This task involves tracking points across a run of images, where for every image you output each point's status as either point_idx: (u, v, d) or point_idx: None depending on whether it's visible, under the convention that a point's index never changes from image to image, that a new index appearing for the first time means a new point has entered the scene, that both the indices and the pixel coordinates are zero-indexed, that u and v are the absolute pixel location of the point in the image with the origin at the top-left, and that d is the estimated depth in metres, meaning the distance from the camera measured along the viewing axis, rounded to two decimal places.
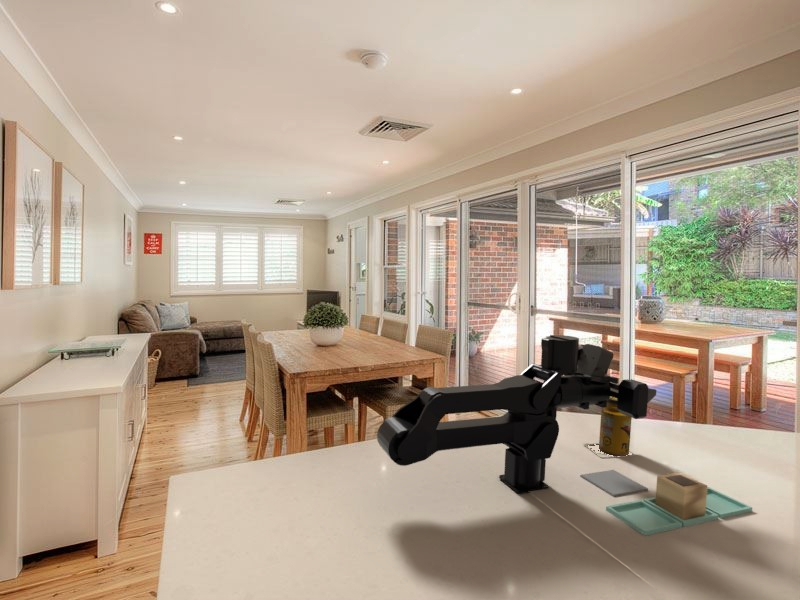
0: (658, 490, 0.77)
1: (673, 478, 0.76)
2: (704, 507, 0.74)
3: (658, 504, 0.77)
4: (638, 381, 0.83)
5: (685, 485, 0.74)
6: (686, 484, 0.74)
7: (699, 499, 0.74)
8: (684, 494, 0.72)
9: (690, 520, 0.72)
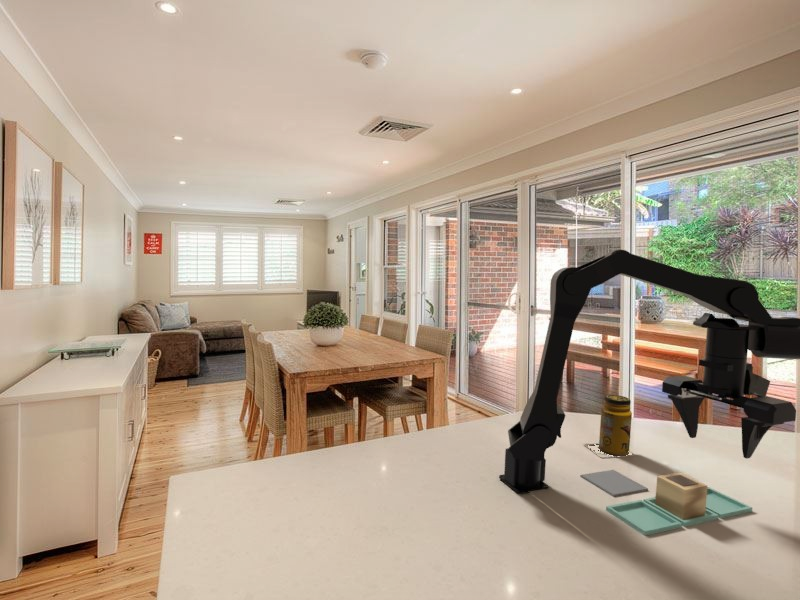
0: (658, 490, 0.77)
1: (673, 478, 0.76)
2: (704, 507, 0.74)
3: (658, 504, 0.77)
4: None
5: (685, 485, 0.74)
6: (686, 484, 0.74)
7: (699, 499, 0.74)
8: (684, 494, 0.72)
9: (690, 520, 0.72)
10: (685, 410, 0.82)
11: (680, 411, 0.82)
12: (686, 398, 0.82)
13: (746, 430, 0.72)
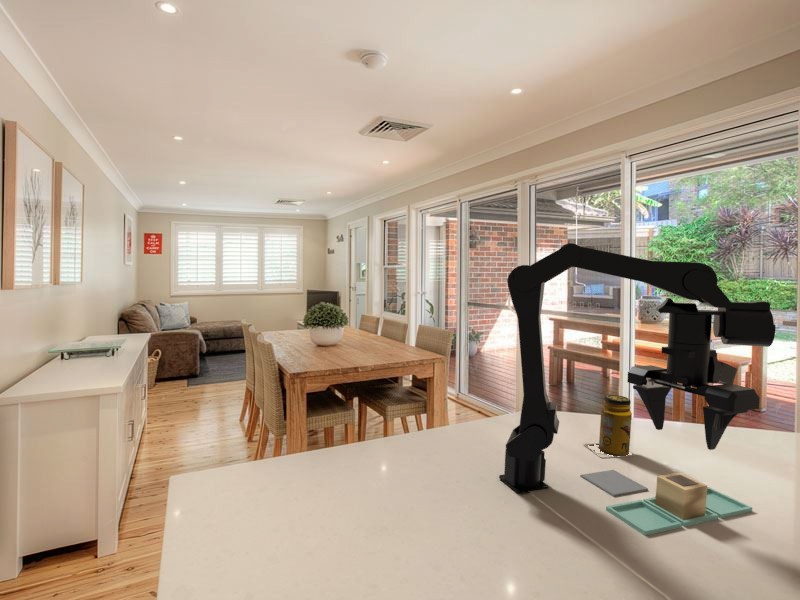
0: (658, 490, 0.77)
1: (673, 478, 0.76)
2: (704, 507, 0.74)
3: (658, 504, 0.77)
4: None
5: (685, 485, 0.74)
6: (686, 484, 0.74)
7: (699, 499, 0.74)
8: (684, 494, 0.72)
9: (690, 520, 0.72)
10: (650, 401, 0.78)
11: (645, 402, 0.79)
12: (651, 388, 0.79)
13: (708, 419, 0.68)
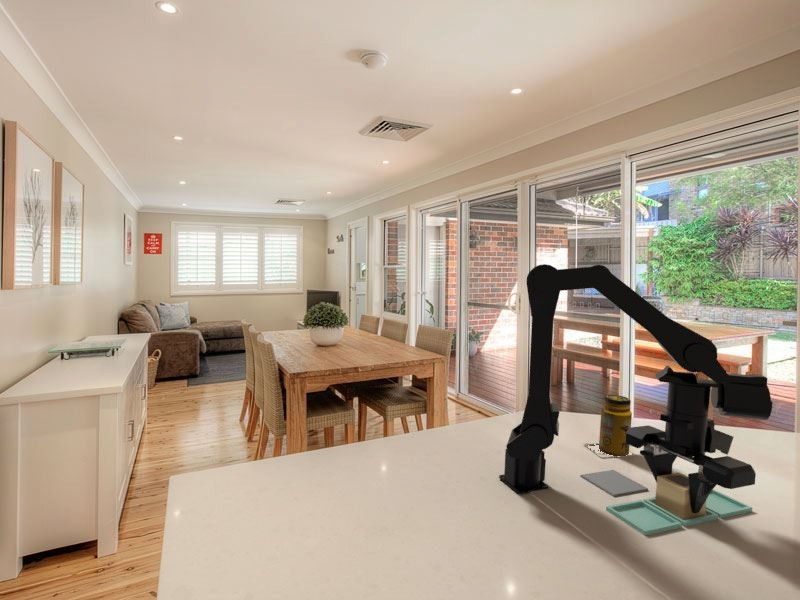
0: (658, 490, 0.77)
1: (673, 478, 0.76)
2: (704, 507, 0.74)
3: (658, 504, 0.77)
4: None
5: (685, 485, 0.74)
6: (686, 484, 0.74)
7: None
8: (684, 494, 0.72)
9: (690, 520, 0.72)
10: (657, 468, 0.78)
11: (652, 469, 0.78)
12: (658, 455, 0.78)
13: (693, 486, 0.71)
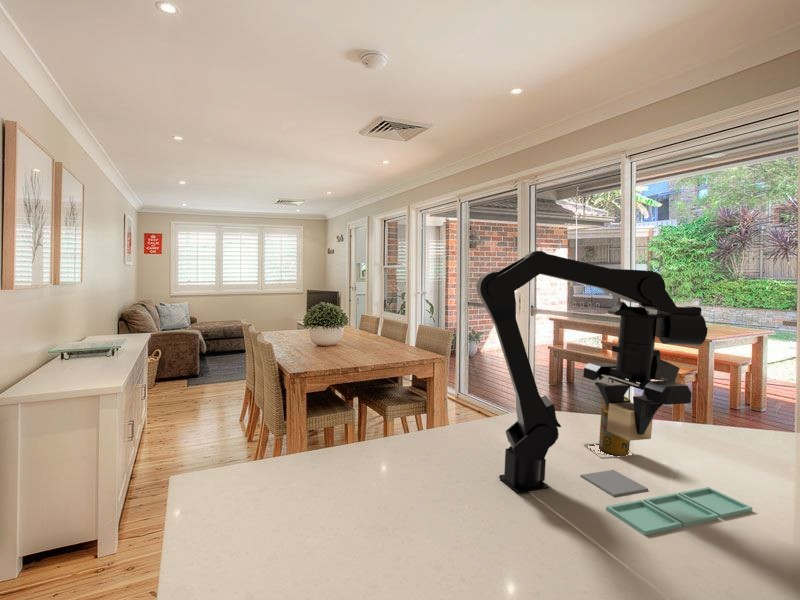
0: (610, 416, 0.83)
1: (623, 405, 0.83)
2: (650, 430, 0.81)
3: (609, 429, 0.83)
4: None
5: (632, 409, 0.81)
6: (633, 409, 0.81)
7: None
8: (630, 416, 0.79)
9: (690, 520, 0.72)
10: (609, 397, 0.84)
11: (605, 398, 0.85)
12: (611, 385, 0.85)
13: (637, 408, 0.78)
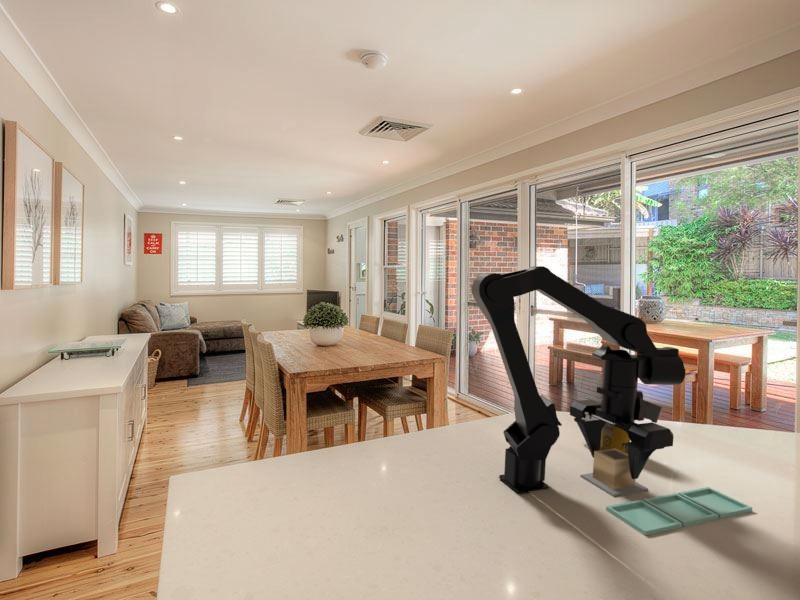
0: (595, 463, 0.86)
1: (608, 453, 0.86)
2: None
3: (595, 476, 0.86)
4: None
5: (617, 458, 0.83)
6: (618, 457, 0.83)
7: (629, 470, 0.83)
8: (615, 466, 0.82)
9: (690, 520, 0.72)
10: (587, 432, 0.89)
11: (583, 433, 0.89)
12: (589, 421, 0.89)
13: (631, 454, 0.79)
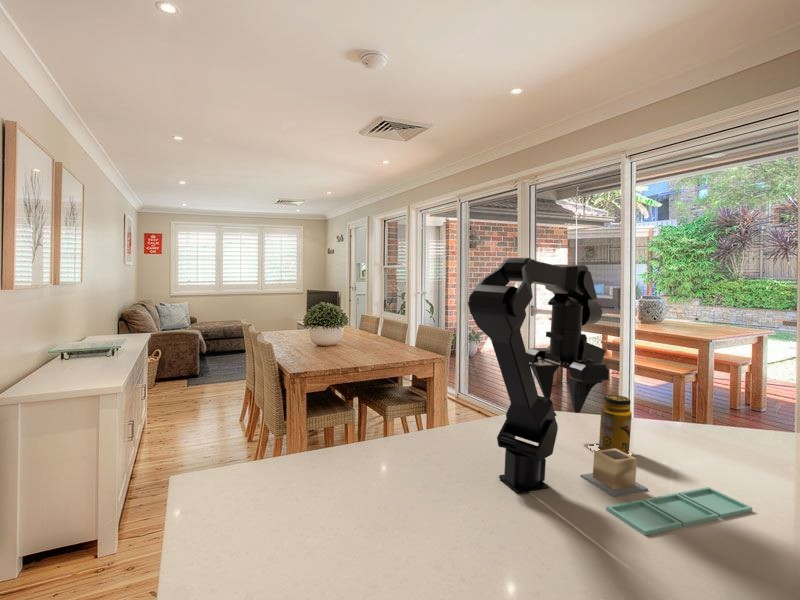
0: (595, 463, 0.86)
1: (608, 453, 0.86)
2: (634, 478, 0.84)
3: (595, 476, 0.86)
4: None
5: (617, 458, 0.83)
6: (618, 457, 0.83)
7: (629, 470, 0.83)
8: (615, 466, 0.82)
9: (690, 520, 0.72)
10: (539, 375, 0.97)
11: (536, 377, 0.97)
12: (541, 365, 0.97)
13: (572, 388, 0.86)
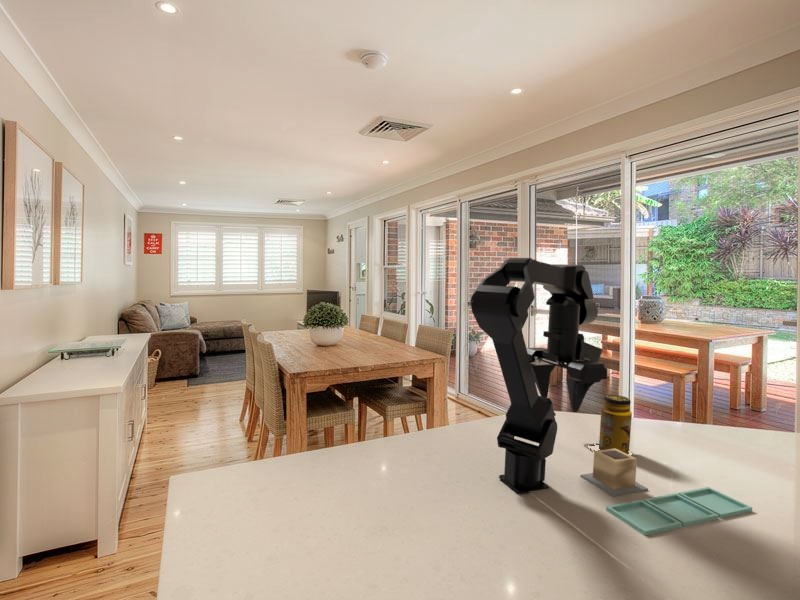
0: (595, 463, 0.86)
1: (608, 453, 0.86)
2: (634, 478, 0.84)
3: (595, 476, 0.86)
4: None
5: (617, 458, 0.83)
6: (618, 457, 0.83)
7: (629, 470, 0.83)
8: (615, 466, 0.82)
9: (690, 520, 0.72)
10: (537, 375, 0.97)
11: (533, 376, 0.98)
12: (538, 365, 0.97)
13: (570, 387, 0.87)
